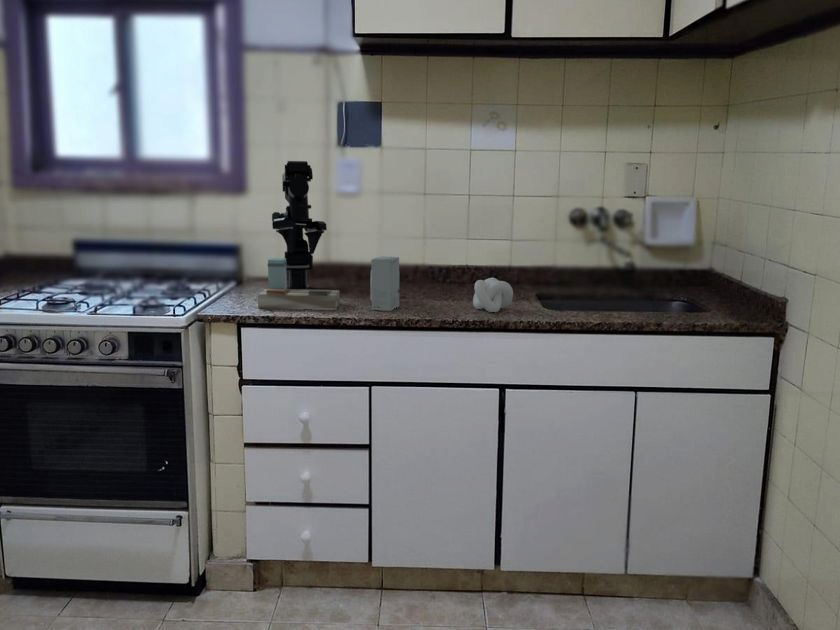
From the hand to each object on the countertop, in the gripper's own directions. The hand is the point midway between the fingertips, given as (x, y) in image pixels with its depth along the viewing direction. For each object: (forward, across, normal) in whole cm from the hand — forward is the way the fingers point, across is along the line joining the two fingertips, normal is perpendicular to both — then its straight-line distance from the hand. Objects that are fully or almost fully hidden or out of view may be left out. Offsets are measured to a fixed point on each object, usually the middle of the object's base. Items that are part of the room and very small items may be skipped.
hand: (301, 253), depth 232 cm
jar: (+16, -12, +21) cm, 29 cm away
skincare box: (+19, -3, +27) cm, 33 cm away
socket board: (+16, +9, +6) cm, 19 cm away
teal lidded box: (+14, +6, -5) cm, 16 cm away
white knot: (+21, -20, +53) cm, 61 cm away
